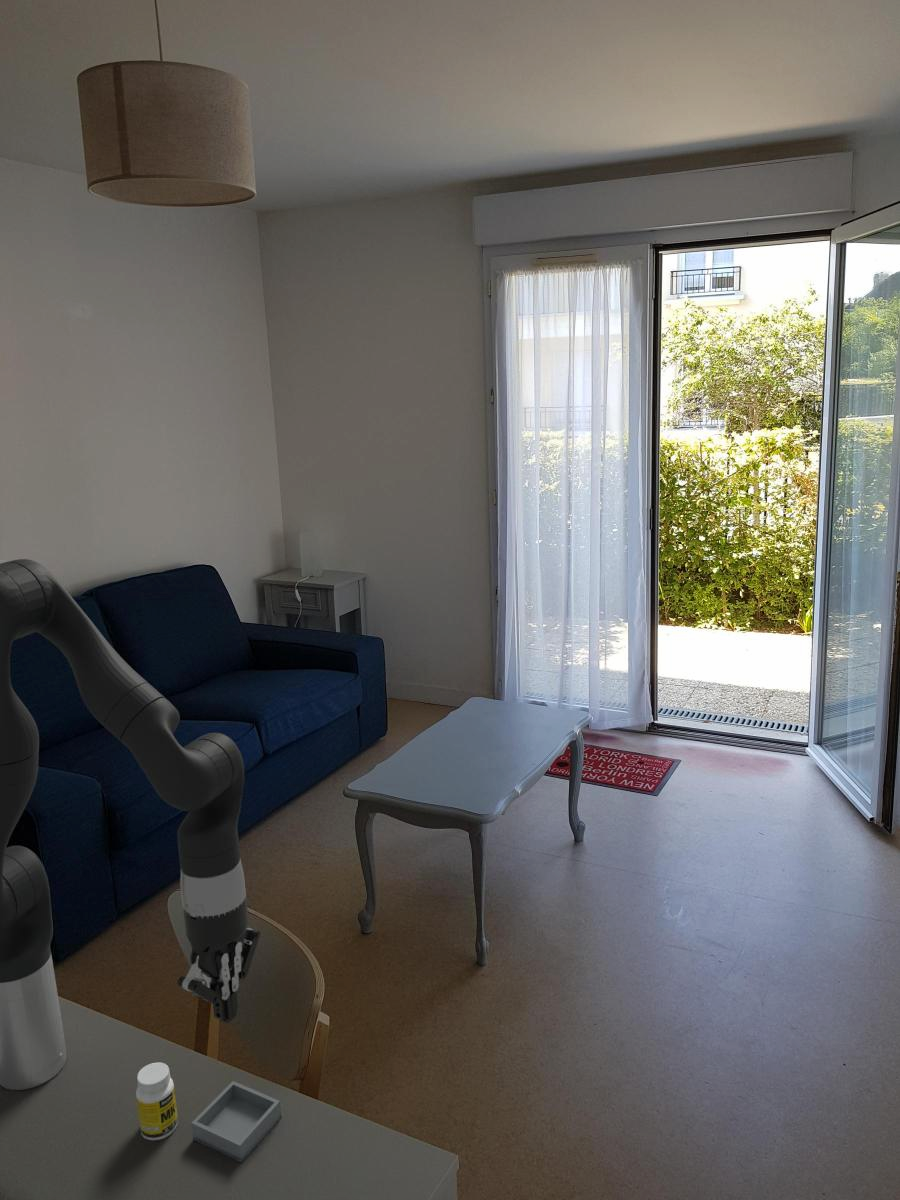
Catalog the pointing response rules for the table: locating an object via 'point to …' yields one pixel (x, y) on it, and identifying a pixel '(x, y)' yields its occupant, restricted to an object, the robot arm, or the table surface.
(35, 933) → the robot arm
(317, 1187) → the table surface
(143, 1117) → the supplement bottle
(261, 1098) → the tray
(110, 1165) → the table surface
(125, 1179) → the table surface
